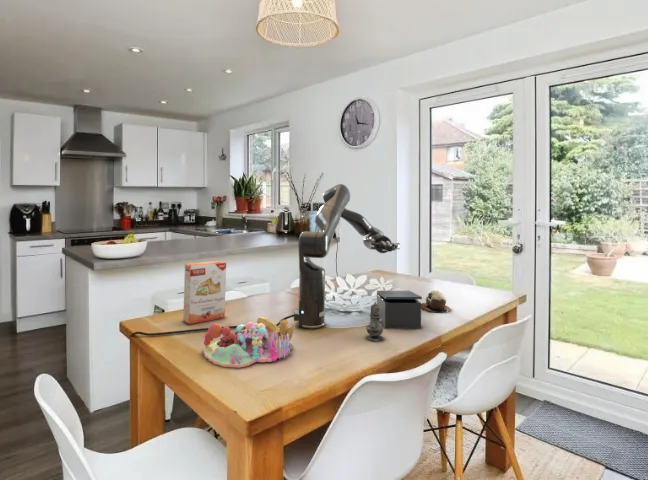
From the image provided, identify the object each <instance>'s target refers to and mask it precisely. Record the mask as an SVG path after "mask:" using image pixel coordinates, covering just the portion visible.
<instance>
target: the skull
mask: <svg viewBox="0 0 648 480" xmlns="http://www.w3.org/2000/svg"><path fill="white" fill-rule="evenodd" d="M446 304H447V299H446V295H444V293H442V291H440V290H438V289H433V290H431V291H429V292H428V294H427V295H426V297H425V301H424V302H421V309H422V310H425V311H428V312H432V313H438V314H439V313H440V314H441V313H442V314H443V313H447V312H450V311H451V308H450V307H449V306H448V305H446Z"/></svg>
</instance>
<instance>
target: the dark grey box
mask: <svg viewBox="0 0 648 480" xmlns="http://www.w3.org/2000/svg"><path fill="white" fill-rule="evenodd" d="M376 304H377V305H379V307H380V313H379V315H380V316H381V317H380V324H381V326H383V327H384V329H421V328H422V308H421V304H422V302H420V300H419V299H385V298H384V297H382V296H381V295H379V294H378V293H377V292H376Z"/></svg>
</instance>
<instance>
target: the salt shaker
mask: <svg viewBox="0 0 648 480" xmlns="http://www.w3.org/2000/svg"><path fill="white" fill-rule="evenodd" d="M379 313H380V307H379V305H377V301H374V303H373V304H371V305H370V314H369V317H370V318H369V319H370V320H369V324H367V325H366V326H365V329H366V332H367V334H368V335H367V336H366V340H368V341H371V342H381V341H383V340H384V338H383V336H381V335H382V334H383V332H384V330H385V328H384V326H383V325H382V324H381V322H380V317H381V316H380V315H379Z"/></svg>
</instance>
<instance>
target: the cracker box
mask: <svg viewBox="0 0 648 480" xmlns="http://www.w3.org/2000/svg"><path fill="white" fill-rule="evenodd" d="M226 283H227V262H226V261H222V260H214V261H213V260H212V261H211V260H210V261H200V262H190V263H185V264H184V283H183V316H182V317H183V321H184V322H185V323H186V324H188V325H192V324H198V323H204V322H208V321H213V320H220V319H224V318H226V288H227V287H226V285H227V284H226Z"/></svg>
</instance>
